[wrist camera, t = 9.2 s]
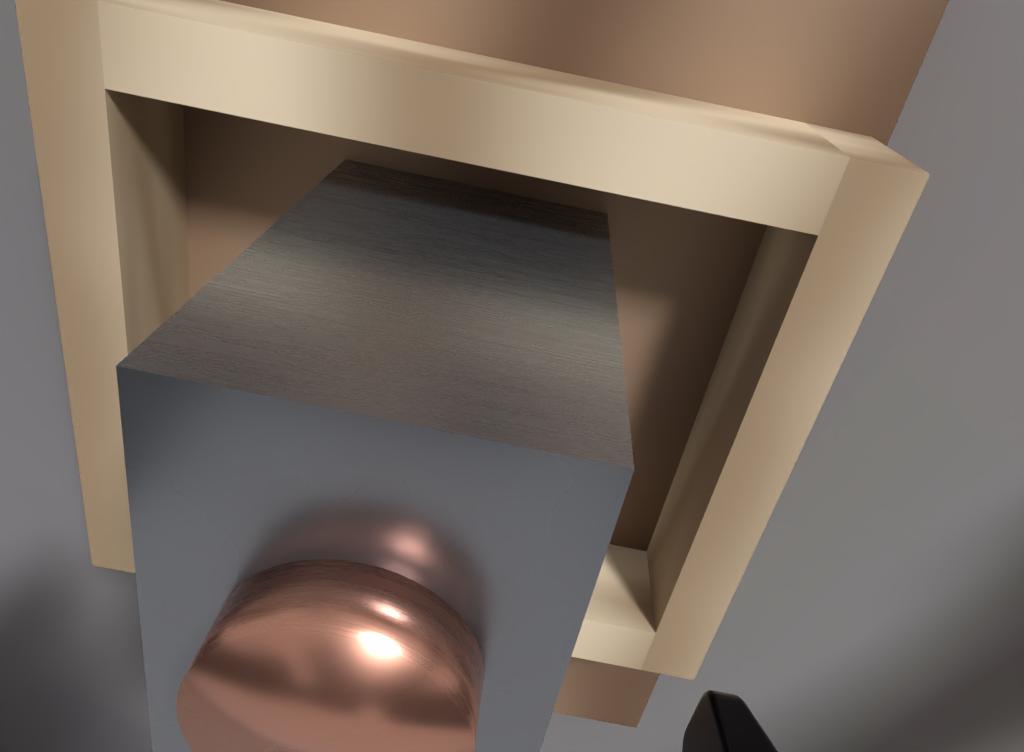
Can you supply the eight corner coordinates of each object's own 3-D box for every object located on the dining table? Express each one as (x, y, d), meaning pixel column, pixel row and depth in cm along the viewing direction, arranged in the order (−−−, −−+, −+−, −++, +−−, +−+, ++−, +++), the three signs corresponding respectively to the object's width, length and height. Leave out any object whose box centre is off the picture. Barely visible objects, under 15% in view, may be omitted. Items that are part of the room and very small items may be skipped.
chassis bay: (1016, -227, 11) (1177, -292, 8) (634, 697, 22) (642, 815, 19) (93, -433, 11) (-92, -579, 8) (166, 608, 22) (101, 714, 19)
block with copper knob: (607, 213, 14) (641, 540, 6) (533, 498, 18) (497, 934, 10) (345, 159, 14) (50, 424, 6) (323, 456, 17) (117, 865, 10)
